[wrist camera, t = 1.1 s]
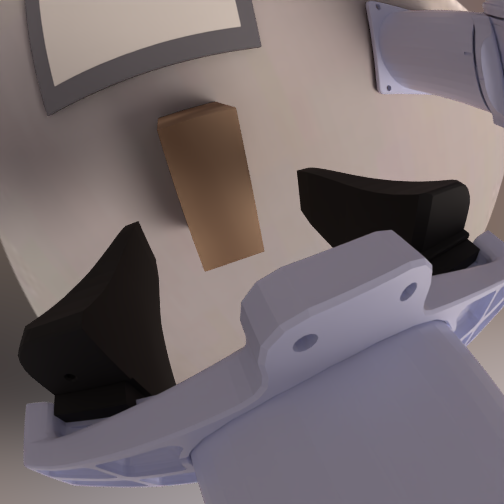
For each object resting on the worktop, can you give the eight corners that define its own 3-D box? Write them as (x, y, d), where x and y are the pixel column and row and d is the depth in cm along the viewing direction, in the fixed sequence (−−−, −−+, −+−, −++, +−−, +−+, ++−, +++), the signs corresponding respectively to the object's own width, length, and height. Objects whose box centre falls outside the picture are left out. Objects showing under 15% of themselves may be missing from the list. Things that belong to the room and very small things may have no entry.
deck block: (214, 101, 15) (236, 107, 11) (240, 212, 20) (264, 251, 16) (158, 118, 14) (157, 130, 10) (193, 228, 19) (204, 271, 15)
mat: (229, -71, 7) (232, -75, 7) (258, 47, 13) (262, 46, 13) (27, -10, 5) (23, -12, 5) (51, 114, 11) (47, 116, 11)
